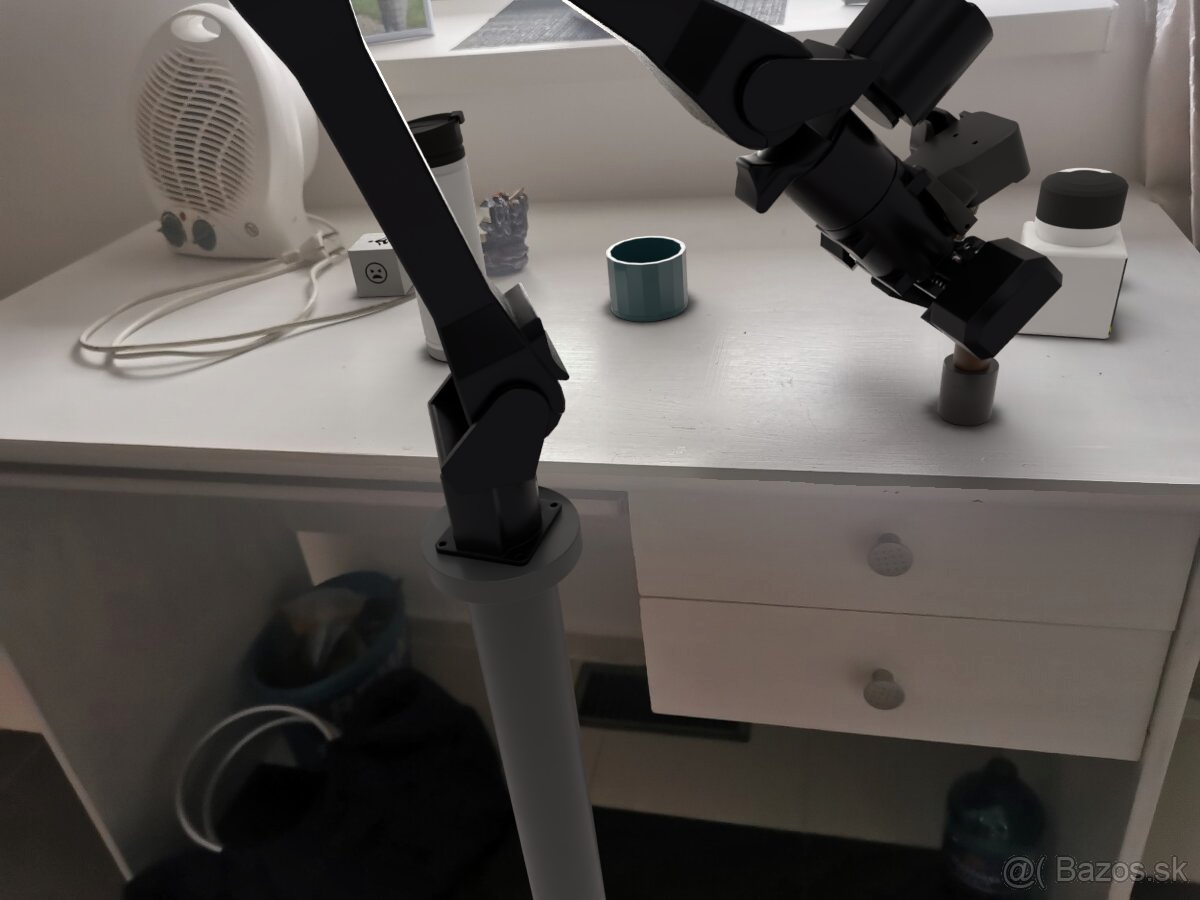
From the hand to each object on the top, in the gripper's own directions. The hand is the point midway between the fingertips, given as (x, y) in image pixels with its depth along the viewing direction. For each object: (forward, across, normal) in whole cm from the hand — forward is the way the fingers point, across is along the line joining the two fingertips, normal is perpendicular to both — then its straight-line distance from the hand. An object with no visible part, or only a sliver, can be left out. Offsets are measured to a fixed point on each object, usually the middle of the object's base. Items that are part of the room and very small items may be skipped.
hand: (994, 325), depth 61 cm
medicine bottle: (+15, +10, -5) cm, 19 cm away
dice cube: (-23, +45, +33) cm, 60 cm away
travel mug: (-19, +27, +29) cm, 44 cm away
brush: (+4, 0, +6) cm, 7 cm away
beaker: (-7, +28, +16) cm, 33 cm away
